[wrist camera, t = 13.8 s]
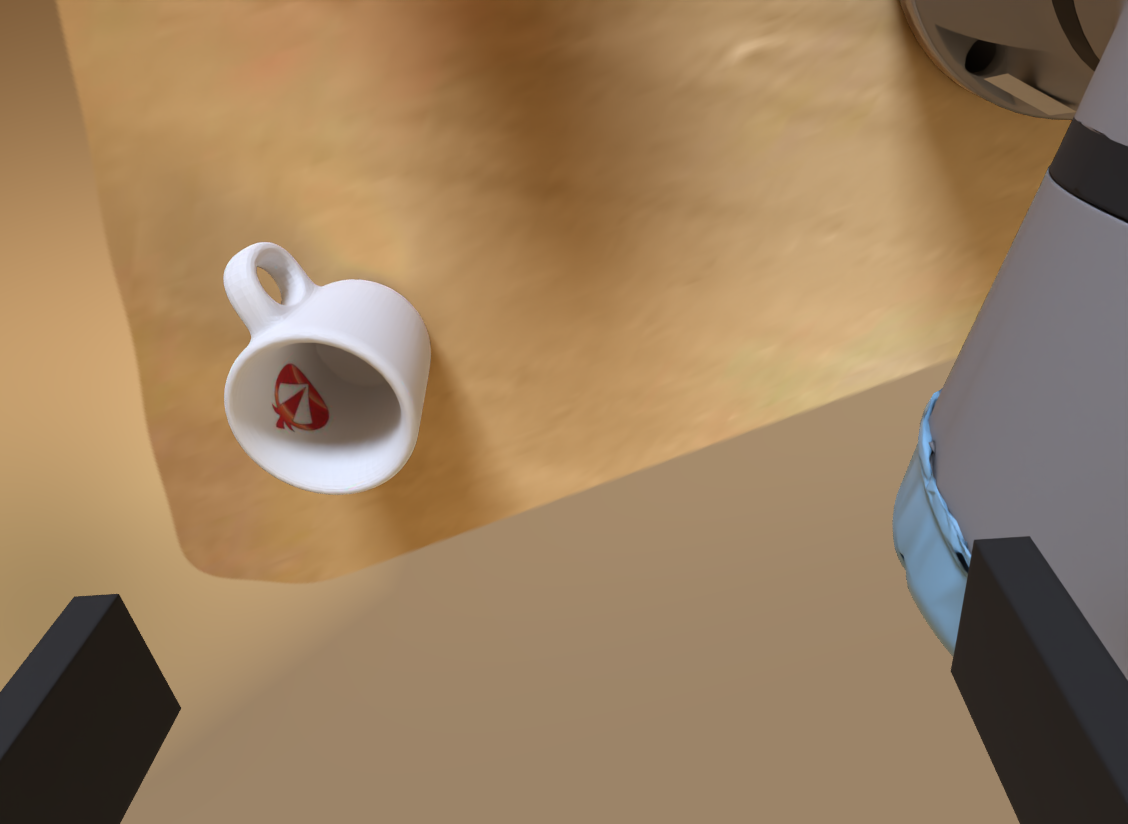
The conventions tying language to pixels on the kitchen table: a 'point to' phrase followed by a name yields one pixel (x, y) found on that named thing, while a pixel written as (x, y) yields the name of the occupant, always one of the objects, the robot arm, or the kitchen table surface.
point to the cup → (324, 375)
